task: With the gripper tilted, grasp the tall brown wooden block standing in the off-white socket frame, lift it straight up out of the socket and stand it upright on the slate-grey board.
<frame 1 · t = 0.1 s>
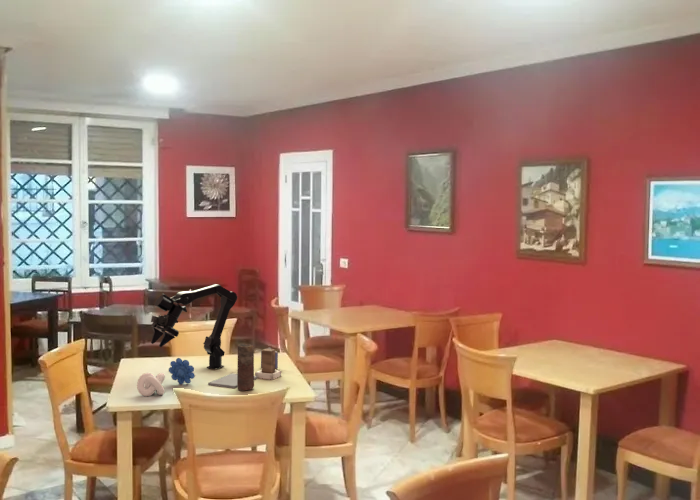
hand: (155, 345, 328), 15 cm above the table, tool tilted 35°, fingers open, 9 cm apart
socket frame: (268, 376, 332), on the table
flask: (269, 369, 348), on the table
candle: (245, 389, 309), on the table
pink knotted tube: (153, 394, 298), on the table
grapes: (181, 385, 315), on the table
serving board: (233, 381, 322), on the table
brown wooden block: (268, 363, 331), in the socket frame
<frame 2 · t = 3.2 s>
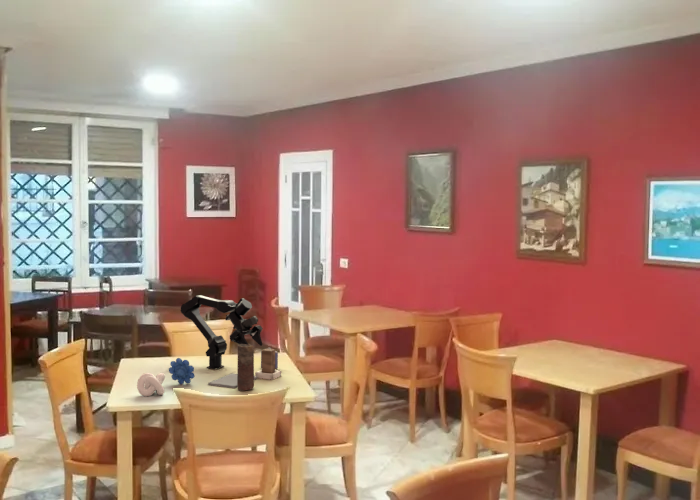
hand: (255, 346, 335), 13 cm above the table, tool tilted 45°, fingers open, 9 cm apart
nothing on the table moved.
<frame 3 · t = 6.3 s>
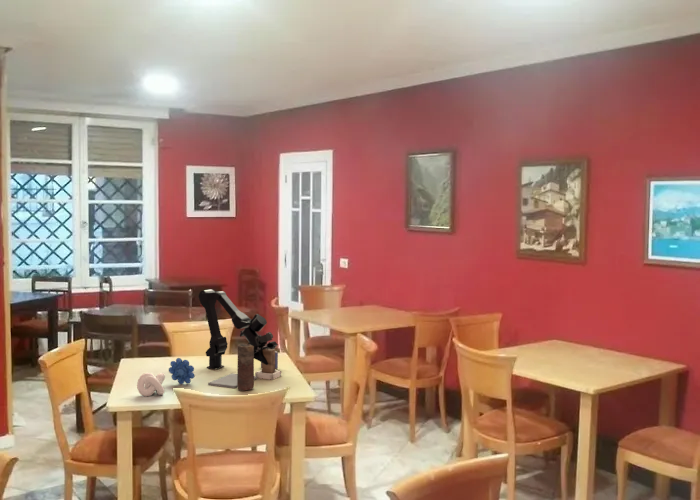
hand: (270, 363, 330), 7 cm above the table, tool tilted 45°, fingers closed on brown wooden block, 4 cm apart
brown wooden block: (268, 363, 331), in the socket frame, touching gripper
everything else where it was.
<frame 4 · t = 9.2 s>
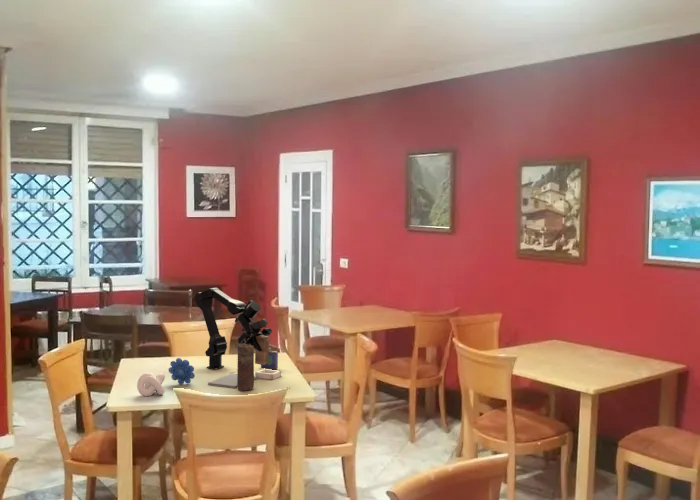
hand: (264, 350, 328), 13 cm above the table, tool tilted 45°, fingers closed on brown wooden block, 4 cm apart
brown wooden block: (262, 349, 329), point 13 cm above the table, touching gripper
everything else where it was.
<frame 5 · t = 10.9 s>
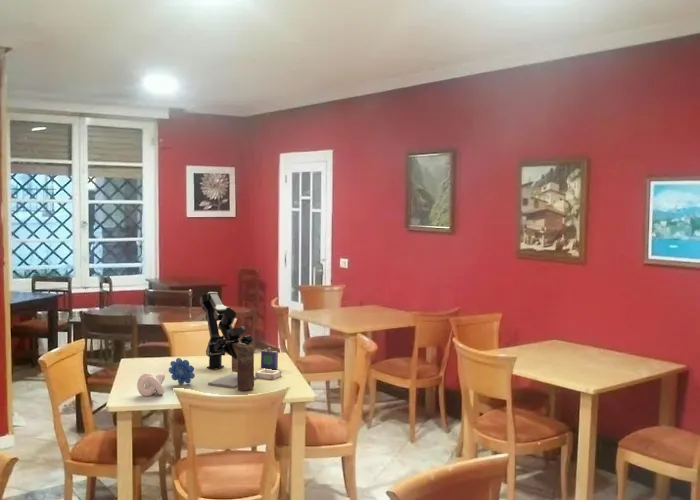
hand: (240, 357, 324), 10 cm above the table, tool tilted 45°, fingers closed on brown wooden block, 4 cm apart
brown wooden block: (238, 357, 325), point 10 cm above the table, touching gripper
everything else where it was.
when the fingers open (9 cm above the table, at t = 12.1 s): brown wooden block stays where it is, resting on serving board.
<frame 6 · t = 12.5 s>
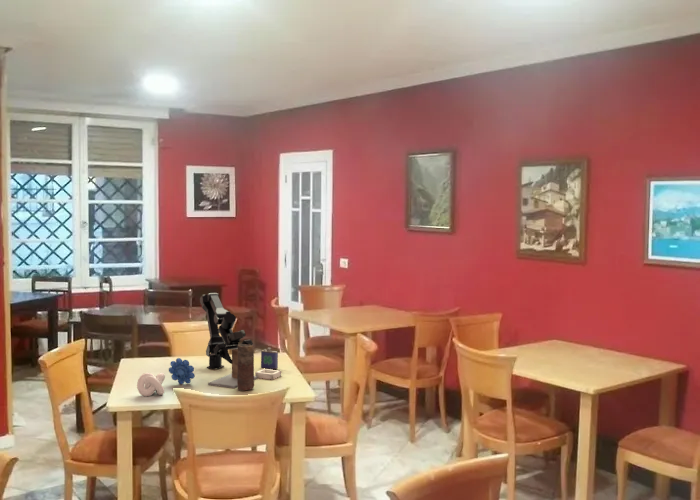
hand: (240, 361, 324), 9 cm above the table, tool tilted 45°, fingers open, 9 cm apart
brown wooden block: (238, 363, 325), on the serving board, point 8 cm above the table
everything else where it was.
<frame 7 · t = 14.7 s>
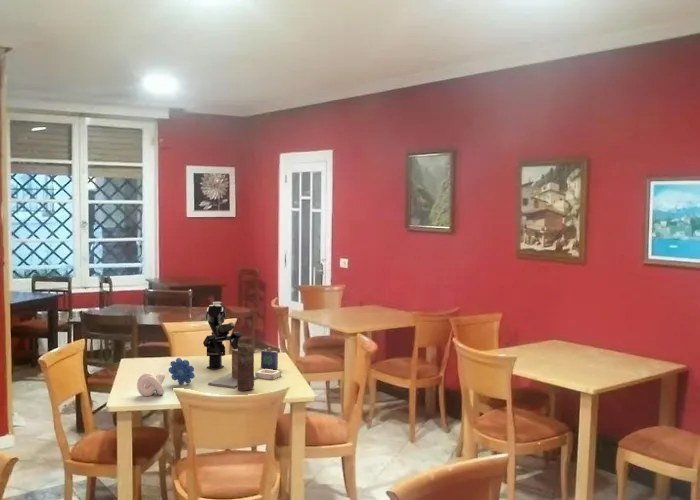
hand: (229, 353, 331), 11 cm above the table, tool tilted 45°, fingers open, 9 cm apart
nothing on the table moved.
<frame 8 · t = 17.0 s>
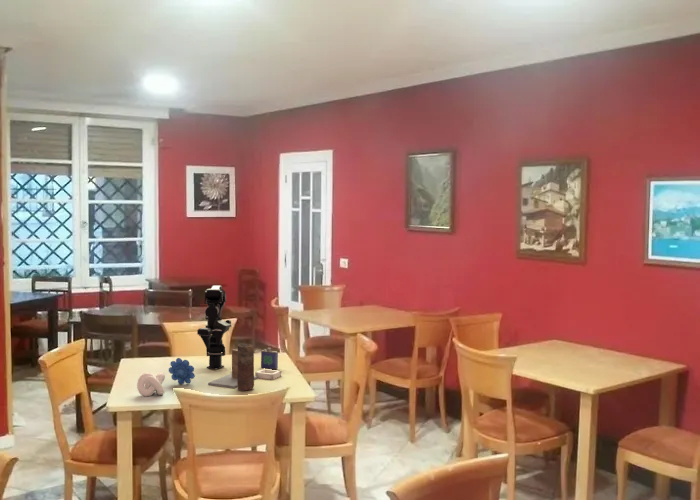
hand: (213, 346, 336), 13 cm above the table, tool pointing down, fingers open, 9 cm apart
nothing on the table moved.
at the end: brown wooden block inside the target area on the serving board (0.5 cm from its centre), point 7.5 cm above the serving board's base; brown wooden block tilted 0°; brown wooden block touching serving board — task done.
